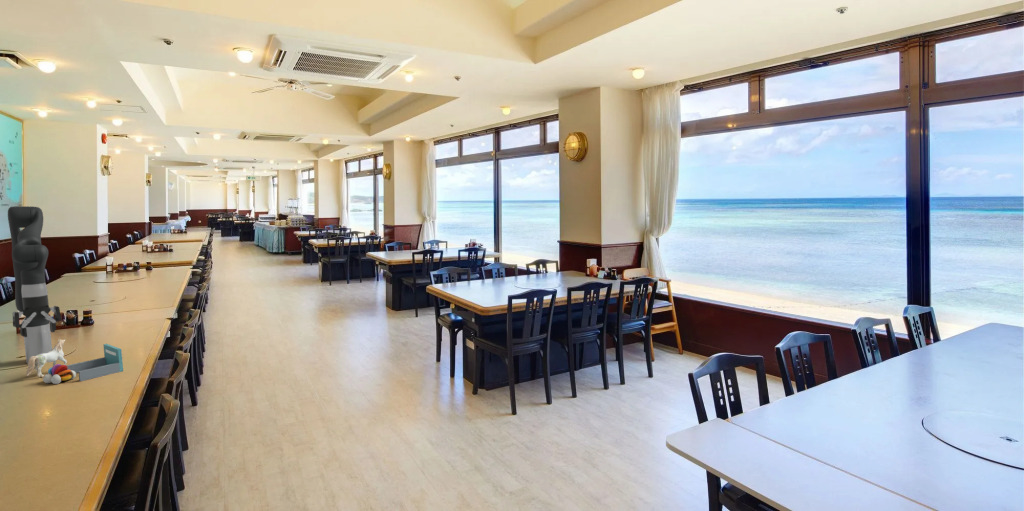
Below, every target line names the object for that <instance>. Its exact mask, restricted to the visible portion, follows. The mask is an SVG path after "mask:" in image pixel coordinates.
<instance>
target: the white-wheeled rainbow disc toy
mask: <svg viewBox="0 0 1024 511" xmlns="http://www.w3.org/2000/svg"><path fill="white" fill-rule="evenodd" d="M66 365H67V364H66ZM66 365H64V364H59V363H56V364H55V365H54V366H53V365H52V367H51V366H50V368H48V370H47V373H46V374H45V375H44V377H42V382H44V383H45V384H51V383H52V384H54V385H58V384H60V383H61V382H62V381H68V380H71V381H72V380H73V379H75V378H76V376H77V373H75V371H73V370H67V369H68V367H67V366H66Z"/></svg>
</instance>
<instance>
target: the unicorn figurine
mask: <svg viewBox="0 0 1024 511" xmlns="http://www.w3.org/2000/svg"><path fill="white" fill-rule="evenodd" d="M65 341H66V339H61V337H59V336H58V339H57V344H55V345H54V346H53V347H52V350H51V351H49V352H48V353H44V354H39V355H37V356H32V357H30V358H29V362H28V363H27V366H28V367H26V371H25V374H26V377H28V376H30V375H31V374H32V373H33V372H34V370H36V374H37V377H38V378H43V377H44V376H45V375H44V374H43V373H42V368H43V367H44V366H45V364H46V363H52V367H53V366H54V365H56V364H57V361H58V360H59V361H61V362H63V365H68V364H67V363H68V360H67V359H66V358H64V356H65V353H64V351H63V347H64V343H65Z"/></svg>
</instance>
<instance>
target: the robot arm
mask: <svg viewBox="0 0 1024 511" xmlns="http://www.w3.org/2000/svg"><path fill="white" fill-rule="evenodd" d="M43 213H44V212H43V210H42V209H41V208H40V207H39V206H24V205H23V206H21V205H18V206H16V205H15V206H10V207H9V208H8V210H7V221H8V225H9V226H8V228H9V231H10V239H11V258H12V265H13V273H14V288H15V289H14V291H15V292H14V298H15V300H14V303H15V308H16V310H17V311H13V312H12V327H14V328H19V330H20V336H21V337H23V341H24V343H23V344H24V352H25V360H26V361H25V362H26V364H28V362H29V358H30V357H32V356H37V355H39V354H44V353H48V352H49V351H51V350H52V349H53V346H52V336H51V335H52V333H55V331H57V322H59V321H62V315H61V311H60V307H59V306H58V305H57V306H56V305H54V306H52V307H50V304H49V294H48V293H49V292H48V287H47V284H46V274H45V273H46V272H45V271H46V270H45V269H46V265H47V261H48V257H49V249H48V248H47V246H46V245H43V244H42V238H41V236H42V235H41V234H42V230H43V228H44V227H43V226H44V214H43ZM50 312H53V314H54V318H53V317H52V316H50V315H49V313H50ZM22 315H23V316H25V317H24V318H23V319H22V321H21V323H20V318H21V317H22Z"/></svg>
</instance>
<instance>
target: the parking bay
mask: <svg viewBox="0 0 1024 511" xmlns="http://www.w3.org/2000/svg"><path fill="white" fill-rule="evenodd" d="M122 351H123V350H122V348H120V347H118V346H114V345H111V344H108V343H103V353H104V354H103V356H104V357H99V358H95V359H90V360H84V361H81V362H76V363H71V364H66V366H67V367H68V369H67V370H73V371H75V373H76V374H78V379H79V380H78V381H79V382H83V381H88V380H92V379H96V378H100V377H101V378H102V377H104V376H109V375H112V374H116V373H120V372H124V363H123V354H122Z"/></svg>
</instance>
